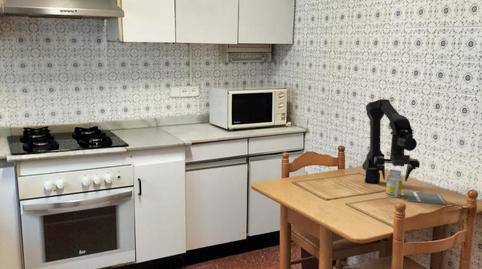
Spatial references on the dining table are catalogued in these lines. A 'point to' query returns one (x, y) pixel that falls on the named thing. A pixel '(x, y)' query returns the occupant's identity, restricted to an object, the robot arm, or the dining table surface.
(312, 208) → the dining table surface
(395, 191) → the pill bottle
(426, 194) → the mat
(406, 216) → the dining table surface
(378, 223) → the dining table surface
